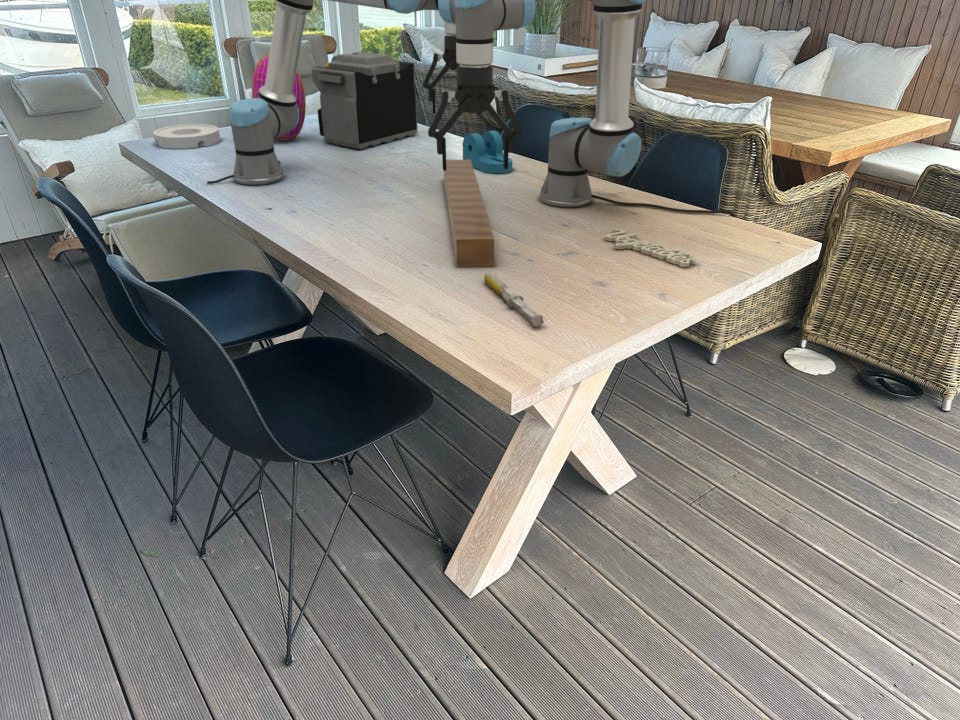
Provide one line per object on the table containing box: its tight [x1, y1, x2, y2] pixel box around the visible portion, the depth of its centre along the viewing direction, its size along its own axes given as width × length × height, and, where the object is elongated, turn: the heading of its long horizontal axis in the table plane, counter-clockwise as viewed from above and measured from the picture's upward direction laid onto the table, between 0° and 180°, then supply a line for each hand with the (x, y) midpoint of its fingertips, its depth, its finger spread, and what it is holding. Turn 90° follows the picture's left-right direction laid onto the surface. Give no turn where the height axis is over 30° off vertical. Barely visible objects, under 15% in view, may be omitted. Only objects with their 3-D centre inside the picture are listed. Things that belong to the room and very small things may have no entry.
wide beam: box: [443, 159, 495, 268], centre depth 188 cm, size 71×9×7 cm, turn 5°
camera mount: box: [462, 130, 513, 174], centre depth 231 cm, size 18×10×10 cm, turn 35°
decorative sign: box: [605, 228, 696, 268], centre depth 169 cm, size 26×1×10 cm
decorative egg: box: [251, 54, 307, 142], centre depth 257 cm, size 19×19×30 cm
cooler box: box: [311, 51, 418, 150], centre depth 260 cm, size 37×22×30 cm, turn 144°
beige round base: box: [152, 123, 221, 150], centre depth 260 cm, size 23×23×4 cm
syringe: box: [483, 271, 545, 328], centre depth 142 cm, size 25×4×3 cm, turn 21°
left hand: (456, 113), depth 205 cm, fingers open, 13 cm apart
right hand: (475, 168), depth 152 cm, fingers open, 13 cm apart
